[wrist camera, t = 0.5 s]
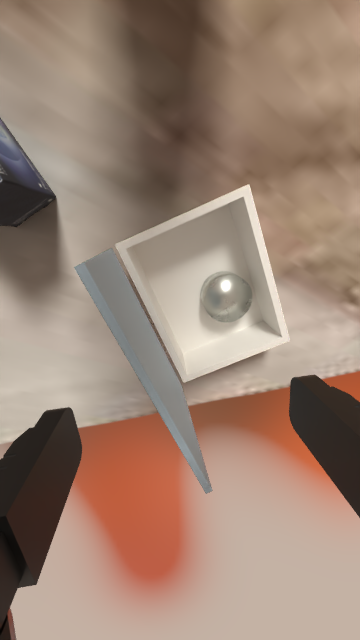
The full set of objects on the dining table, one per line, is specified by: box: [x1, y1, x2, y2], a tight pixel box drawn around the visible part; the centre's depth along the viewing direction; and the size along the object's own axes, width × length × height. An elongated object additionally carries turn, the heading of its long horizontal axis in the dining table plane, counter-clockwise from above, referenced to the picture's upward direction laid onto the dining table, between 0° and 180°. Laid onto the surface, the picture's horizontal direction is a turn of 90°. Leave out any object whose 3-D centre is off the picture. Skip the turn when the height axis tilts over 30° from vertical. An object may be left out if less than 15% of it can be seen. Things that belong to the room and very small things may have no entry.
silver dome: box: [200, 271, 252, 323], centre depth 31 cm, size 6×6×3 cm
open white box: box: [115, 184, 290, 383], centre depth 29 cm, size 14×18×6 cm
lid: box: [74, 248, 212, 494], centre depth 20 cm, size 13×18×1 cm
